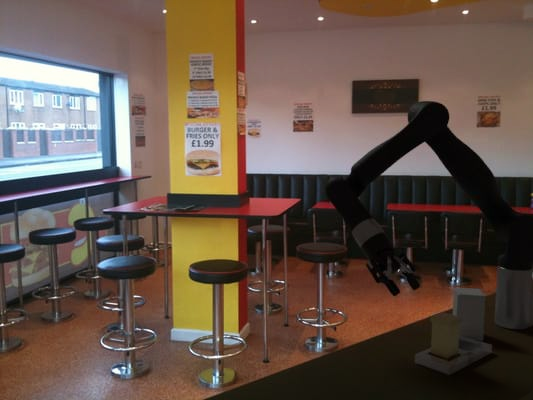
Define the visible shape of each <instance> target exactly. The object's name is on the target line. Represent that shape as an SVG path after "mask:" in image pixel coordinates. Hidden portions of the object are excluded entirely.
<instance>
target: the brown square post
mask: <svg viewBox="0 0 533 400" xmlns="http://www.w3.org/2000/svg"><path fill="white" fill-rule="evenodd" d="M429 322H432V323H431V343H430V344H431V347H430V348H431V355H432V356H435V357H438V358H440V359H443V360H446V361H451V360H453V359H455V358H457V357H458V348H459V326H460V323H461V322H462V317H459V316H455V315H453V313H447V312H444V311H440V312H438V313H436V314H433V315H431V316H430V320H429Z"/></svg>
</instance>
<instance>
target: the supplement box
mask: <svg viewBox="0 0 533 400" xmlns="http://www.w3.org/2000/svg"><path fill="white" fill-rule="evenodd" d="M452 300H453V301H452V315H455V316H459V317H462V322H461V323H460V326H459V335H460V336H463V337H467V338H470V339H474V340H477V341H480V342H484V331H485V310H486V295H485V294H484V292H483V290H482V289H480V288H470V287H469V288H467V287H466V288H465V287H464V288H463V287H454V288H453V299H452Z"/></svg>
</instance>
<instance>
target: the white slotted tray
mask: <svg viewBox="0 0 533 400" xmlns="http://www.w3.org/2000/svg"><path fill="white" fill-rule="evenodd" d="M492 349H493V344H490V343H488V342H487V343H486V342H484V341H478V340H475V339H471V338H468V337H463V336H460V335H459V348H458V357H457V358H455V359H453V360H451V361H446V360H443V359H440V358H438V357H435V356H432V355H431V347H429V348H426V349H424V350H422V351H419V352H417V353H415V354H414V364H416V365H419V366H423V367H426V368H428V369H431V370H433V371H436V372H439V373H442V374H445V375H448V376H451V375H452V374H454V373H457V372H458V371H459V370H462V369H464V368H465V367H468V366H469V365H471V364H473V363H475V362H477V361H479V360H481V359H482V358H484V357H486V356H488V355H490V354H492V352H493V351H492Z"/></svg>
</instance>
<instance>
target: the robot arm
mask: <svg viewBox="0 0 533 400" xmlns="http://www.w3.org/2000/svg"><path fill="white" fill-rule="evenodd" d="M407 122H408V123H407V124H406V126H404V127H403V128H402V129H401V130H400V131H398V132H396V133H395V134H394V135H393V136H391V137H390V138H388V139H386V140H385V141H383V142H381V143H380V144H378V145H376V146H375V147H373V148H372V149H371V150H370V151H368V152H366V154H364V155H363V156H362V157H361V158H360V159H358V160H357V161H356V162H355V163H354V164H353V165H352V166H351V167H350V168H351V169H350V172H349V173H350V174H348V175H347V177H345V178H343V177H341V176H335V177H331V178H330V179H328V180H327V182H326V183H325V187H324V192H325V196H326V198H327V200H329V202H330V203H331V204H332V206H333V207H334V209H335V210H336V211H337V212H338V213H339V215H340V217H341V218H342V220H343V222H344V224H345V225H346V227H347V228H348V230H349V232H350V233H351V234H352V236H353V238H354V240H355V242H356V244H357V245H358V246H359V248H360V249H361V251H362V252H363V254H364V255H365V257H366V258H367V260H368V262H366V264H365V267H366V268H367V269H368V270H367V271H368V272H370V274H371V276H372V278H373V279H374V281H375V283H377V284H382V285H384V286H385V287H386V288H387V290H388V291H389V293H390V294H391V295H392V296H393V297H397V296H398V295H399V294H400V293H401V290H400V288H399V287H398V285H397V284H396V282H395V281H394V280H393V279H392V274H394V273H395V274H396V275H400V276H401V277H403V278H404V279H405V281H406V282H407V283H408V284H409V287H410V288H411V289H412V291H416V290H418V289H419V288H420V287H421V284H420V282H419V281H418V279H417V278H416V276H415V275H414V272H415V271H416V270H417V268H416V266H415V265H414V264H413V263H412V262H411V260H410V259H409V258H408V257H407V254H406V253H404V252H403V251H401V252H400V253H398V254H396V253H395V252H394V247H395V246H394V244H393V242H392V241H391V240H390V238H389V237H388V235H387V234H386V233H385V230H383V228H382V227H381V225H380V224H379V223H378V222H377V221H376V220H375V218H374V217H373V215H372V214H371V213H370V212H369V210H368V209H367V208H366V206H365V205H364V204H363V203H362V202H361V200H360V199H359V197H361V195H362V194H363V192H365V190H366V189H367V188H368V187H369V185H370V184H371V183H373V182H374V181H375V180H376V179H378V178H379V177H380V176H382V175H383V174H384V173H385V172H386V171H387V170H388V169H389V168H391V167H392V166H393V165H394V164H395V163H397V162H399V160H401V159H402V158H403V157H404V156H406V155H408V154H409V153H410V152H412V151H413V150H414V149H416V148H417V147H419V146H421V145H422V144H423V143H425V144H427V146H428V147H430V149H431V150H432V151H433V152H434V154H435V155H436V156H437V157H438V159H439V161H440V162H441V164H442V165H443V166H444V167H445V169H446V170H447V172H448V173H449V174H450V176H452V178H453V179H454V181H455V182H456V183H457V185H458V186H459V187H460V188H461V190H463V192H464V193H465V194H466V195H467V196H468V198H469V199H470V200H471V201H472V202H473V204H474V205H476V207H477V208H478V209H479V211H480V212H482V214H483V217H484V218H485V219H486V221H487V222H488V223H489V225H490V227H491V228H492V230H493V232H494V233H495V235H497V237H498V238H500V239H501V240H502V241H505V242H507V244H506V252H505V253H503V254H501V255H499V256H498V258H497V268H496V270H497V274H496V288H495V289H496V292H495V307H494V323H495V325H496V326H499V327H501V328H505V329H512V330H526V329H528V328H531V327H533V293H532V283H533V282H532V281H533V279H532V278H533V215H531V214H529V213H524V212H520V211H516V210H515V209H513V208H512V207H511V206H510V205H509V204H508V203H507V202H506V200H505V199H504V198H503V197H502V194H500V192H499V190H498V189H499V188H498V184H497V180H496V178H495V175H494V173H493V172H492V170H491V168H490V167H489V166H488V164H486V162H485V161H484V160H483V158H482V157H481V156H480V155H479V154H478V153H477V152H475V150H473V149H472V148H471V147H470V146H469V145H468V144H466V143H465V142H463V141H462V140H461V139H460V138H458V137H457V136H456V135H455V133H454V132H453V131H452V130H451V129H450V127H449V126H448V124H449V122H450V112H449V109H448V108H447V107H446V105H444V104H443V103H441V102H438V101H432V100H422V101H421V100H420V101H418V102H415V103H414V104H412V105H411V106H410V107H409V110H408V112H407Z"/></svg>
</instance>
